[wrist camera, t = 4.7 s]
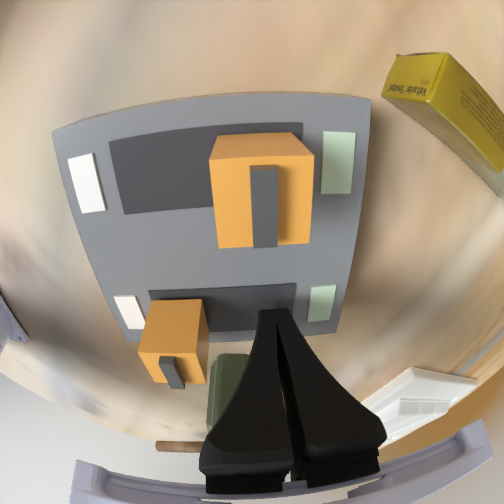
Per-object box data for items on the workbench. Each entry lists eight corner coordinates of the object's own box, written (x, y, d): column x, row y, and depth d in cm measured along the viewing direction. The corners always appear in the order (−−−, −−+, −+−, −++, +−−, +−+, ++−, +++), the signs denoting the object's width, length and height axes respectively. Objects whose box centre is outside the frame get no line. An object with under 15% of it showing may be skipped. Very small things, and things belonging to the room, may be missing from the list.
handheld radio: (256, 350, 20) (241, 445, 34) (211, 348, 20) (219, 444, 34) (258, 434, 15) (241, 485, 28) (204, 431, 14) (217, 484, 28)
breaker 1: (164, 333, 14) (153, 389, 11) (151, 300, 12) (135, 360, 10) (209, 332, 14) (205, 391, 11) (201, 299, 13) (194, 361, 10)
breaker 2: (223, 201, 10) (218, 257, 7) (217, 135, 9) (207, 165, 6) (290, 198, 10) (312, 251, 7) (291, 132, 9) (318, 160, 6)
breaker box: (136, 311, 17) (126, 343, 15) (80, 120, 10) (50, 132, 8) (325, 302, 17) (336, 333, 15) (346, 94, 10) (372, 100, 8)
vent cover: (481, 392, 28) (388, 451, 38) (473, 376, 31) (384, 436, 41) (420, 388, 21) (293, 458, 31) (408, 362, 24) (290, 438, 34)
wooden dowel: (160, 440, 34) (161, 450, 33) (155, 440, 32) (156, 451, 31) (223, 439, 33) (225, 451, 32) (219, 440, 32) (221, 452, 31)
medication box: (512, 165, 12) (551, 189, 9) (497, 196, 13) (535, 225, 10) (394, 51, 9) (448, 47, 6) (375, 95, 11) (426, 105, 7)
